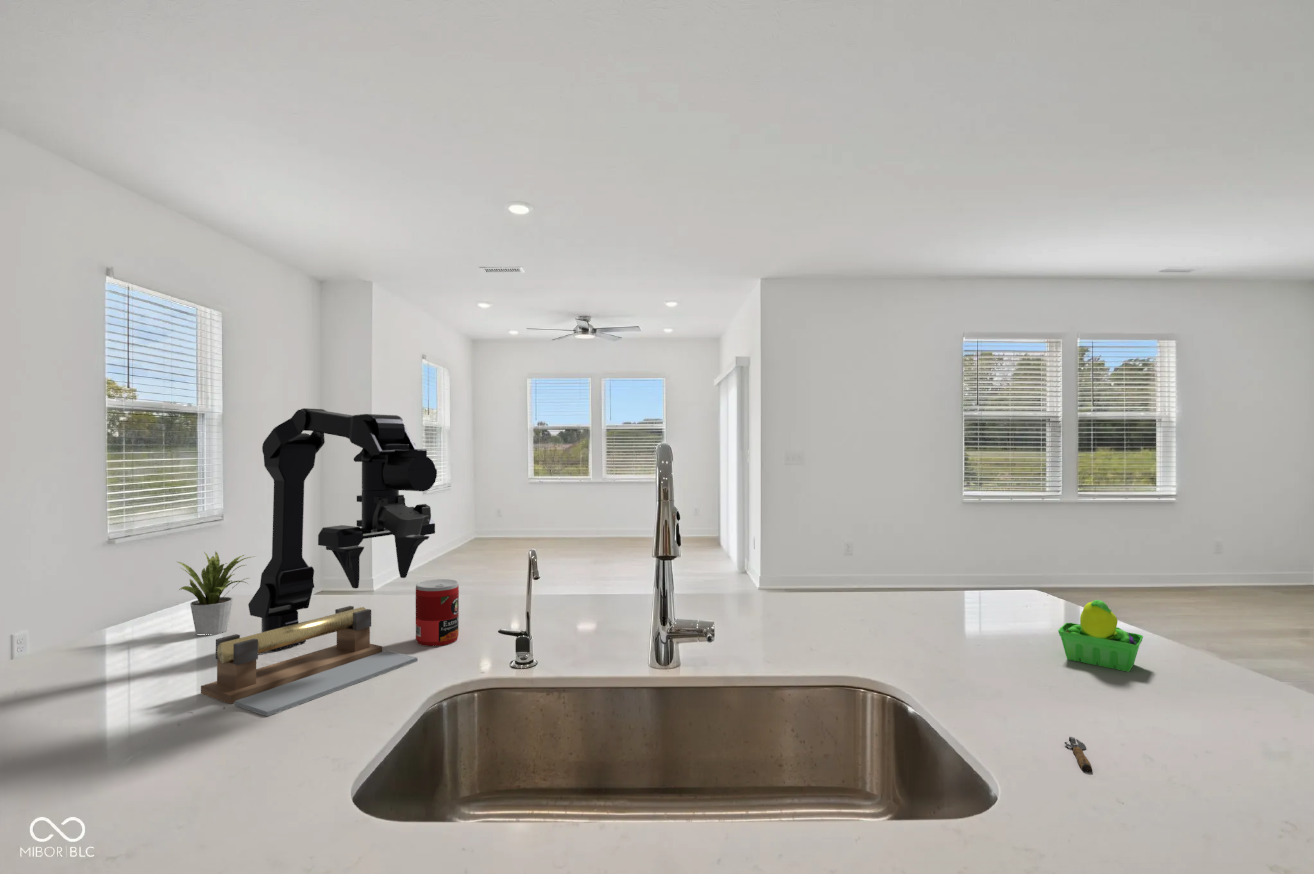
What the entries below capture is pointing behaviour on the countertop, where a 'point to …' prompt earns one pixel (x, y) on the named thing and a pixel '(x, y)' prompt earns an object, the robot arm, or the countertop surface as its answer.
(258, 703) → the mat
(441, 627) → the canned food
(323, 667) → the stand
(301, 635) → the rail
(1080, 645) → the fruit basket
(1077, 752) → the can opener
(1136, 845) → the countertop surface
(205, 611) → the house plant
